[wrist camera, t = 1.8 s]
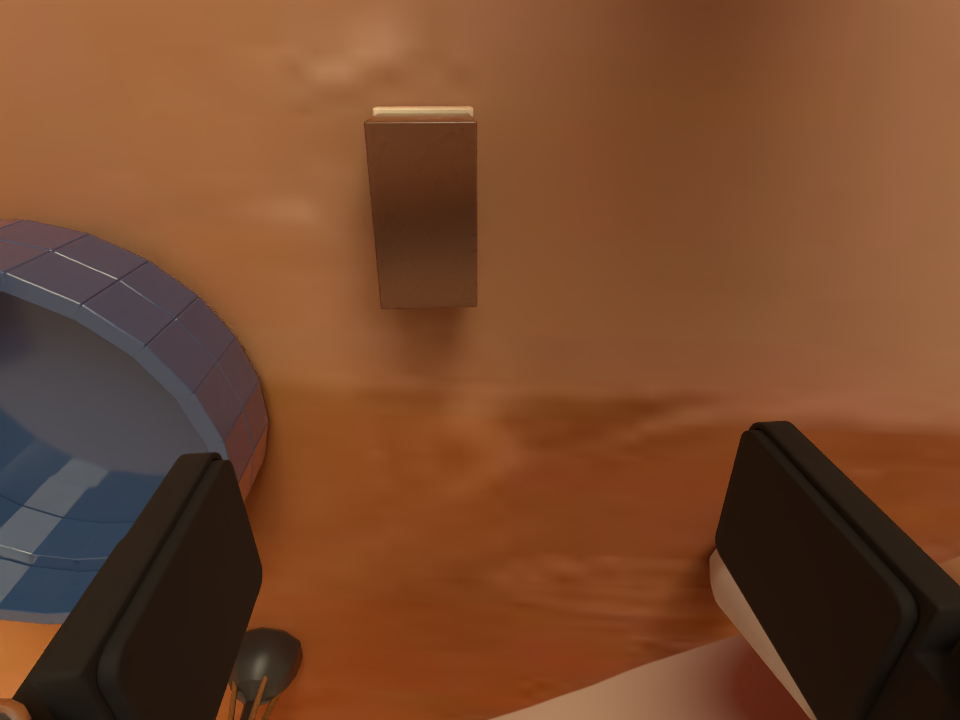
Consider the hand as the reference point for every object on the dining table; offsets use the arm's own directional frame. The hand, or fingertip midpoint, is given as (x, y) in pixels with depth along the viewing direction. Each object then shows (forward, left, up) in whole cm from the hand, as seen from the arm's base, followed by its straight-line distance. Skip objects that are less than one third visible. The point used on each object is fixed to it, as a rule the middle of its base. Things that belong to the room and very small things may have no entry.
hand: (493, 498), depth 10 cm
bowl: (+8, -19, -17) cm, 27 cm away
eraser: (-2, -1, -17) cm, 17 cm away
